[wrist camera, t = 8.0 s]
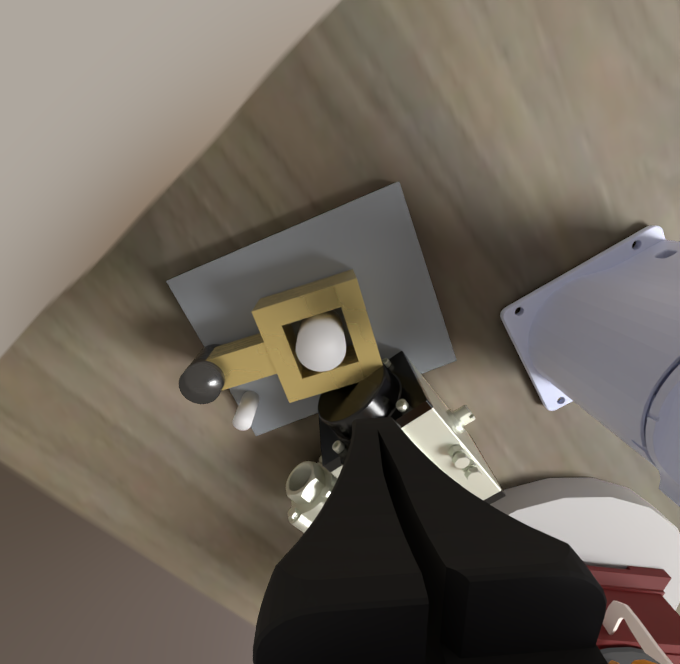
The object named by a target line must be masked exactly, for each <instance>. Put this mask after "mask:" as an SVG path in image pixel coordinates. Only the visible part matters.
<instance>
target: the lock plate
mask: <svg viewBox="0 0 680 664" xmlns="http://www.w3.org/2000/svg"><path fill="white" fill-rule="evenodd" d="M351 269H353V271H354V273H355V275H356V278H357V281H358V284H359V287H360V291H361V294H362V297H363V301H364V304H365V307H366V311H367V314H368V317H369V321H370V324H371V327H372V331H373V334H374V337H375V341H376V344H377V347H378V351H379V354H380V357H381V360H382V359H384V358H388V359H390V358H391V357H393V356H394V355H396V354H397V353H399V352H400V351H403V352H404V353H405V355H406V356H407V357H408V358H409V360H410V361H411V362H412V363H413V365H414V366H415V367H416V369H417V370H418V371H419V373H420V374H422V373H425V372H427V371H430V370H433V369H435V368H438V367H441V366H443V365H446V364H449V363H451V362H454V361H457V360H456V357H455V354H454V351H453V348H452V344H451V341H450V338H449V335H448V332H447V329H446V326H445V323H444V319H443V316H442V313H441V310H440V307H439V304H438V301H437V298H436V295H435V291H434V288H433V285H432V282H431V279H430V276H429V273H428V270H427V266H426V263H425V260H424V257H423V254H422V251H421V248H420V245H419V241H418V238H417V235H416V232H415V229H414V226H413V223H412V220H411V216H410V213H409V210H408V207H407V204H406V201H405V198H404V195H403V191H402V188H401V185H400V182H395V183H393V184H390V185H388V186H386V187H383V188H381V189H379V190H376V191H374V192H372V193H369V194H367V195H365V196H362V197H360V198H358V199H355V200H353V201H351V202H348V203H346V204H344V205H341V206H339V207H337V208H334V209H332V210H330V211H327V212H325V213H323V214H320V215H318V216H316V217H313V218H311V219H309V220H306V221H304V222H302V223H299V224H297V225H295V226H292V227H290V228H288V229H285V230H283V231H281V232H278V233H276V234H274V235H271V236H269V237H267V238H264V239H262V240H260V241H257V242H255V243H253V244H250V245H248V246H246V247H243V248H241V249H239V250H236V251H234V252H232V253H229V254H227V255H225V256H222V257H220V258H218V259H215V260H213V261H211V262H208V263H206V264H204V265H201V266H199V267H197V268H194V269H192V270H190V271H187V272H185V273H183V274H180V275H178V276H176V277H173V278H171V279H169V280H167V281H166V282H167V284H168V285H169V287H170V289H171V290H172V292H173V294H174V296H175V297H176V299H177V301H178V302H179V304H180V306H181V308H182V309H183V311H184V313H185V314H186V316H187V318H188V320H189V321H190V323H191V325H192V327H193V328H194V330H195V332H196V333H197V335H198V337H199V339H200V340H201V342H202V344H203V345H204V347H206V346H208V345H212V344H218V345H224V344H227V343H230V342H233V341H236V340H240V339H243V338H246V337H249V336H252V335H255V334H259V333H260V331H259V329H258V326H257V324H256V322H255V319H254V317H253V314H252V310H253V308H254V307H255V305H256V304H257V302H258V301H259V299H261V298H264V297H267V296H270V295H273V294H276V293H280V292H283V291H286V290H289V289H292V288H295V287H298V286H301V285H305V284H308V283H311V282H314V281H317V280H320V279H323V278H326V277H330V276H333V275H336V274H339V273H342V272H345V271H348V270H351ZM291 325H292V328H293V330H294V333H295V336H296V338H297V342H296V354H297V357H298V359H299V361H300V362H301V363H302V364H303V365H304V366H305V367H307V368H308V369H311V370H313V371H318V372H323V371H329V370H331V369H334V368H335V367H337V366H338V365H339V364H340V363H341V362H342V360H343V359H344V357H345V354H346V347H347V346H351V345H353V342H352V339H351V336H350V333H349V330H348V327H347V324H346V320H345V317H344V314H343V311H342V308H341V307H340V308H337V309H333V310H330V311H327V312H324V313H321V314H317V315H314V316H311V317H308V318H305V319H302V320H298V321H295V322H292V323H291ZM229 390H230V392H231V394H232V395H233V397H234V399H235V400H236V402H237V404H238V409H237V411H236V413H235V416H234V418H233V425H234V427H235V428H237V429H239V430H247V429H249V428H250V427H251V428H252V430H253V431H254V433H255V435H256V436H258V435H260V434H263V433H265V432H268V431H271V430H273V429H276V428H279V427H281V426H284V425H287V424H289V423H292V422H295V421H297V420H300V419H303V418H305V417H308V416H311V415H313V414H316V413H318V401H319V398H320V395H321V394H318V395H314V396H311V397H308V398H304V399H301V400H298V401H294V402H291V403H289V401H288V399H287V396H286V394H285V391H284V389H283V387H282V384H281V382H280V379H279V377H278V375H277V374H274V375H271V376H268V377H264V378H261V379H258V380H255V381H251V382H248V383H245V384H242V385H238V386H235V387H232V388H229Z"/></svg>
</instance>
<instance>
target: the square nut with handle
mask: <svg viewBox="0 0 680 664" xmlns="http://www.w3.org/2000/svg"><path fill="white" fill-rule="evenodd" d="M340 307H341V308H342V311H343V314H344V317H345V320H346V324H347V327H348V330H349V333H350V336H351V339H352V342H353V345H351V346H347V347H346V354H345V357H344V359H343V360H342V362H341V363H340V364H339V365H338V366H337V367H335V368H334V369H331V370H329V371H323V372H318V371H313V370H311V369H308V368H307V367H305V366H304V365H303V364H302V363H301V362H300V361H299V359H298V357H297V354H296V342H297V338H296V336H295V333H294V330H293V328H292V325H291V323H292V322H295V321H298V320H302V319H305V318H308V317H311V316H314V315H317V314H321V313H324V312H327V311H330V310H333V309H337V308H340ZM252 314H253V317H254V319H255V322H256V324H257V326H258V329H259V331H260V333H259V334H255V335H252V336H249V337H246V338H243V339H240V340H236V341H233V342H230V343H227V344H224V345H218V344H212V345H208V346H206V347H205V348H203V349H202V350H201V352H200V353H199V354H198V355H197V357H196V358H195V359H194V360H193V362H192V363H191V364H190V365H189V366H188V368H187V369H186V370H185V371H184V373H183V374H182V375H181V377H180V379H179V388H180V391H181V393H182V394H183V396H184V397H185V398H186V399H188V400H189V401H191V402H193V403H197V404H207V403H210V402H212V401H214V400H215V399H216V398H217V397H218V396H219V394H220V392H221V391H222V390H225V389H228V388H232V387H235V386H238V385H242V384H245V383H248V382H251V381H255V380H258V379H261V378H264V377H268V376H271V375H274V374H277V375H278V377H279V379H280V382H281V384H282V387H283V389H284V391H285V394H286V396H287V399H288V401H289V403H291V402H294V401H298V400H301V399H304V398H308V397H311V396H314V395H318V394H321V393H324V392H328V391H331V390H335V389H338V388H341V387H345V386H348V385H351V384H355V383H358V382H360V381H362V380H363V379H365V378H366V377H367V376H369V375H370V374H372V373H373V372H374V371H376V370H377V369H379V368H380V367H382V366H383V364H382V361H381V357H380V354H379V351H378V347H377V344H376V341H375V337H374V334H373V331H372V327H371V324H370V321H369V317H368V314H367V311H366V307H365V304H364V301H363V297H362V294H361V291H360V287H359V284H358V281H357V278H356V275H355V273H354V271H353V269H351V270H348V271H345V272H342V273H339V274H336V275H333V276H330V277H326V278H323V279H320V280H317V281H314V282H311V283H308V284H305V285H301V286H298V287H295V288H292V289H289V290H286V291H283V292H280V293H276V294H273V295H270V296H267V297H264V298H261V299H259V301H258V302H257V304H256V305H255V307H254V308H253V310H252Z"/></svg>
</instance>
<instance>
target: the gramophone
mask: <svg viewBox="0 0 680 664" xmlns="http://www.w3.org/2000/svg"><path fill="white" fill-rule="evenodd" d="M503 491H504V492H505V494H506V496H505V497H503V498H501V499H499V500H498V501H496V502H494V503H492V504H491V506H493V507H495V508H496V509H498V510H500V511H502V512H503V513H505V514H507V515H509V516H511V517H513V518H515V519H516V520H518V521H520V522H522V523H524V524H526V525H528V526H530V527H532V528H534V529H537V530H539V531H541V532H543V533H546V534H548V535H550V536H552V537H555V538H557V539H559V540H561V541H564V542H566V543H568V544H569V545H570V546H571V547H572V549H573V550H574V551H575V552H576V553H577V555H578V556H579V557H580V558H581V559H582V561H583V562H584V563H585V565H586V566H587V567H588V569H589V570H590V571H591V573H592V574H593V576H594V577H595V578H596V580H597V581H598V583H599V584H600V585H601V587H602V588H603V590H604V592H605V596H606V599H607V605H606V613H605V617H604V620H603V623H602V626H601V630H600V633H599V636H598V639H597V643H596V645H597V647H598V648H599V650H600V651H601V653H602V655H603V656H604V658H605V659H606V661H607V663H608V664H680V616H679V615H678V613H677V612H676V608H677V606H678V604H679V602H680V533H679V531H678V529H677V527H676V526H674V525H673V524H672V523H671V522H670V521H669V520H668V519H667V518H666V517H665V516H664V515H663V514H661V513H660V512H659V511H658V510H657V509H656V508H655V507H654V506H652V505H651V504H650V503H648V502H647V501H646V500H644V499H643V498H642V497H640V496H639V495H638V494H636V493H635V492H634V491H632V490H631V489H630V488H628V487H624V486H621V485H617V484H614V483H610V482H607V481H603V480H600V479H596V478H593V477H585V478H547V479H543V480H539V481H535V482H532V483H528V484H524V485H520V486H516V487H513V488H509V489H505V490H503Z"/></svg>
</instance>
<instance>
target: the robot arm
mask: <svg viewBox="0 0 680 664" xmlns="http://www.w3.org/2000/svg"><path fill="white" fill-rule="evenodd" d="M635 241H636V245H635V247H633V248H632V244H633V242H635ZM518 307H520V312H519V313H517V314H515V310H516V309H517V308H518ZM500 317H501V320H502V322H503V324H504V326H505V328H506V330H507V332H508V334H509V336H510V338H511V340H512V342H513V344H514V346H515V348H516V350H517V353H518V355H519V357H520V359H521V361H522V363H523V365H524V367H525V369H526V371H527V373H528V375H529V377H530V379H531V381H532V383H533V385H534V387H535V389H536V391H537V393H538V395H539V397H540V399H541V401H542V403H543V405H544V407H545V408H546V409H548V410H550V411H554V410H556V409H558V408H560V407H562V406H564V405H566V404H568V403H570V402H572V401H574V402H575V403H576V404H578V405H579V406H580V407H581V408H583V409H584V410H585V411H586V412H588V413H589V414H590V415H591V416H593V417H594V418H595V419H596V420H598V421H599V422H600V423H601V424H603V425H604V426H605V427H606V428H608V429H609V430H610V431H611V432H613V433H614V434H615V435H616V436H618V437H619V438H620V439H621V440H623V441H624V442H625V443H626V444H628V445H629V446H630V447H631V448H633V449H634V450H635V451H636V452H638V453H639V454H640V455H641V456H643V457H644V458H645V459H646V460H648V461H649V462H650V463H651V464H653V465H654V466H655V467H656V468H657V469H658V470H659V472H660V479H661V480H660V485H659V489H660V490H661V491H662V492H663V493H664V494H665V495H667V496H668V497H669V498H670V499H671V500H672V501H674V502H675V503H676V504H677V505H678V506H679V507H680V241H672V240H665V236H664V233H663V230H662V228H661V227H660V226H656V225H650V226H647V227H645V228H643V229H642V230H640V231H638V232H636V233H635V234H633V235H631V236H629V237H628V238H626V239H624V240H622V241H621V242H619V243H617V244H615V245H614V246H612V247H610V248H608V249H606V250H605V251H603V252H601V253H599V254H598V255H596V256H594V257H592V258H591V259H589V260H587V261H585V262H584V263H582V264H580V265H578V266H577V267H575V268H573V269H571V270H570V271H568V272H566V273H564V274H563V275H561V276H559V277H557V278H556V279H554V280H552V281H550V282H549V283H547V284H545V285H543V286H542V287H540V288H538V289H536V290H535V291H533V292H531V293H529V294H528V295H526V296H524V297H522V298H521V299H519V300H517V301H515V302H514V303H512V304H510V305H508V306H507V307H505V308H504V309H503V310H502V311H501V314H500ZM560 397H561V399H560V400H559V401H557V400H558V398H560ZM606 605H607V599H606V596H605V592H604V590H603V588H602V587H601V585H600V584H599V583H598V581H597V580H596V578H595V577H594V576H593V574H592V573H591V571H590V570H589V569H588V567H587V566H586V565H585V563H584V562H583V561H582V559H581V558H580V557H579V556H578V555H577V553H576V552H575V551H574V550H573V549H572V547H571V546H570V545H569V544H568V543H566V542H564V541H561V540H559V539H557V538H555V537H552V536H550V535H548V534H546V533H543V532H541V531H539V530H537V529H534V528H532V527H530V526H528V525H526V524H524V523H522V522H520V521H518V520H516V519H515V518H513V517H511V516H509V515H507V514H505V513H503V512H502V511H500V510H498V509H496V508H495V507H493V506H491V505H490V504H488V503H487V502H485V501H483V500H482V499H480V498H479V497H477V496H475V495H474V494H472V493H471V492H470V491H468V490H467V489H465V488H464V487H463V486H461V485H460V484H459V483H457V482H456V481H455V480H453V479H452V478H451V477H449V476H448V475H447V474H446V473H444V472H443V471H442V470H441V469H440V468H439V467H438V466H437V465H435V464H434V463H433V462H432V461H431V460H430V459H429V458H428V457H427V456H426V455H425V454H424V453H423V452H422V451H421V450H420V449H419V448H418V447H417V446H416V445H415V444H414V443H413V442H412V441H411V439H410V438H409V437H408V436H407V435H406V434H405V433H404V432H403V430H402V429H401V428H400V427H399V426H398V424H397V423H396V422H395V421H394V420H393V419H392V418H391V417H385V418H367V419H355V420H354V421H353V422H352V437H351V442H350V446H349V449H348V453H347V456H346V459H345V462H344V464H343V467H342V469H341V472H340V474H339V477H338V479H337V481H336V483H335V485H334V487H333V489H332V491H331V493H330V495H329V497H328V499H327V500H326V502H325V504H324V505H323V507H322V509H321V510H320V512H319V513H318V515H317V516H316V518H315V519H314V521H313V522H312V523H311V525H310V526H309V527H308V529H307V530H306V531H305V533H304V534H303V535H302V537H301V538H300V539H299V541H298V542H297V543H296V544H295V545H294V546H293V548H292V549H291V550H290V551H289V552H288V553H287V554H286V555H285V556H284V557H283V559H282V560H281V561H280V562H279V563H278V564H277V565H276V566H275V569H274V571H273V574H272V576H271V579H270V581H269V584H268V586H267V589H266V592H265V595H264V598H263V601H262V604H261V608H260V612H259V616H258V620H257V625H256V632H255V639H254V645H253V663H254V664H608V663H607V661H606V659H605V658H604V656H603V655H602V653H601V651H600V650H599V648H598V647H597V645H596V643H597V639H598V636H599V633H600V630H601V626H602V623H603V620H604V617H605V613H606Z"/></svg>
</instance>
